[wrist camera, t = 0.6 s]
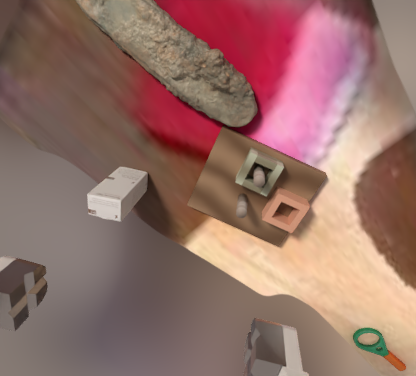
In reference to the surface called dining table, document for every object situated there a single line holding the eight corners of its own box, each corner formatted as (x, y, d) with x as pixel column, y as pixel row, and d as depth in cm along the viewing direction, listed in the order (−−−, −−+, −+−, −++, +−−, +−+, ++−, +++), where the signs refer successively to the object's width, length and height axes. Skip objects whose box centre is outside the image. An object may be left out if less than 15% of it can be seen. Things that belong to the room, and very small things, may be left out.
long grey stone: (97, -57, 43) (73, 7, 48) (75, -70, 39) (51, 2, 43) (274, 92, 47) (236, 138, 51) (273, 96, 42) (231, 147, 47)
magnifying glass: (346, 334, 67) (348, 340, 65) (369, 322, 64) (371, 328, 63) (388, 368, 69) (391, 375, 68) (412, 358, 67) (415, 365, 65)
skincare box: (148, 171, 56) (122, 199, 46) (147, 191, 58) (122, 223, 48) (118, 165, 57) (86, 192, 46) (118, 185, 59) (87, 215, 48)
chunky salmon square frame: (277, 186, 52) (278, 193, 49) (307, 199, 52) (309, 207, 50) (261, 211, 55) (262, 219, 52) (290, 224, 55) (292, 233, 52)
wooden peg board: (223, 125, 50) (217, 136, 44) (325, 172, 51) (335, 190, 44) (188, 201, 58) (179, 221, 51) (277, 241, 59) (280, 266, 52)
